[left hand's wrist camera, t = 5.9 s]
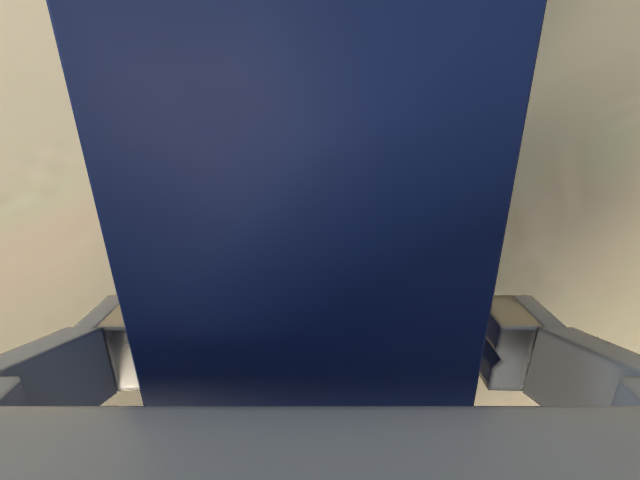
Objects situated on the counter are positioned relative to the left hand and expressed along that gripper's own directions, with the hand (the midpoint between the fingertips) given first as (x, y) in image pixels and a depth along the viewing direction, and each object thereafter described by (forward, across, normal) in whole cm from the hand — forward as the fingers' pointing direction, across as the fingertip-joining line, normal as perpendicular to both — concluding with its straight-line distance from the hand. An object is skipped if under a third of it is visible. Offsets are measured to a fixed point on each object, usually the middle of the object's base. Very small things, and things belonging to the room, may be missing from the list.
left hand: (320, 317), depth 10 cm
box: (+8, 0, +8) cm, 11 cm away
